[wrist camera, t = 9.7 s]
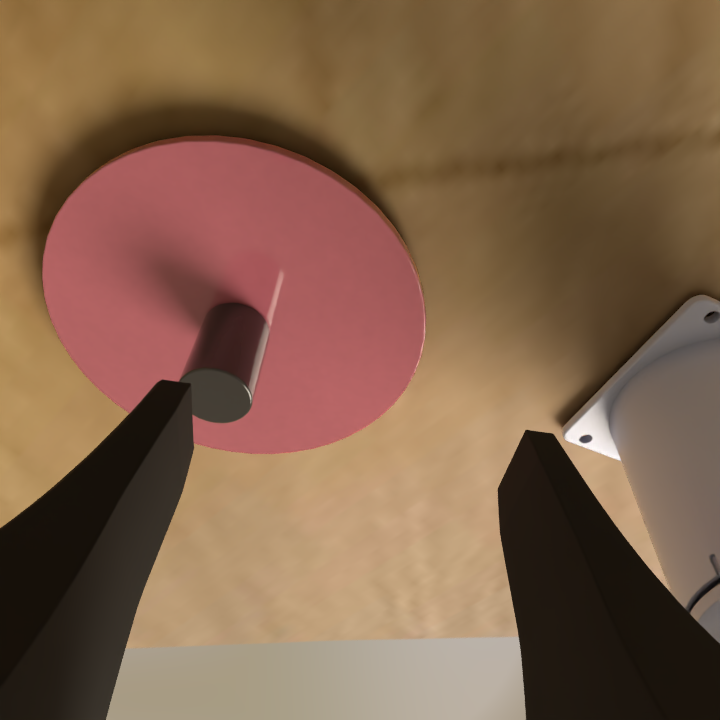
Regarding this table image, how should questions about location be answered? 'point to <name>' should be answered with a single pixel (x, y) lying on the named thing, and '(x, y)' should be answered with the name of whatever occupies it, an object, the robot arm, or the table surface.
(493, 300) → the table surface
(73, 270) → the lid
